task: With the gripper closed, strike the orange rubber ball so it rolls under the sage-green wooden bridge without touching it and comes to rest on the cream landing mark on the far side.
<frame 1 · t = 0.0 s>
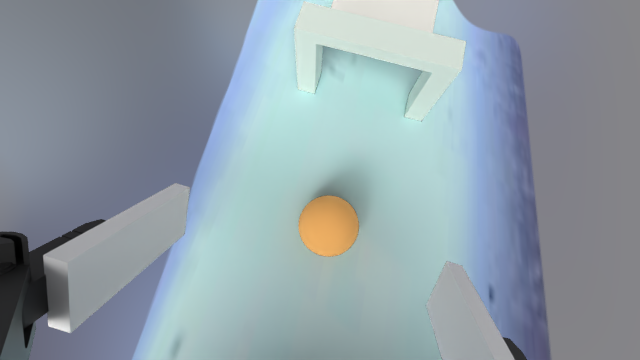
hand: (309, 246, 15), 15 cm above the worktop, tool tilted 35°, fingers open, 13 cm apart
ball: (328, 225, 27), on the worktop
landing mark: (386, 1, 38), on the worktop
bridge: (362, 94, 34), on the worktop
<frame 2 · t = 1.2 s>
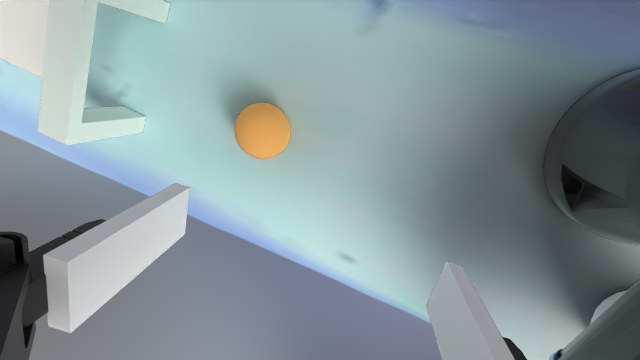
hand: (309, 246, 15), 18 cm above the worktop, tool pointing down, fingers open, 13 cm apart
ball: (263, 131, 30), on the worktop
landing mark: (37, 16, 34), on the worktop
supplement can: (631, 317, 31), on the worktop
bridge: (143, 67, 33), on the worktop
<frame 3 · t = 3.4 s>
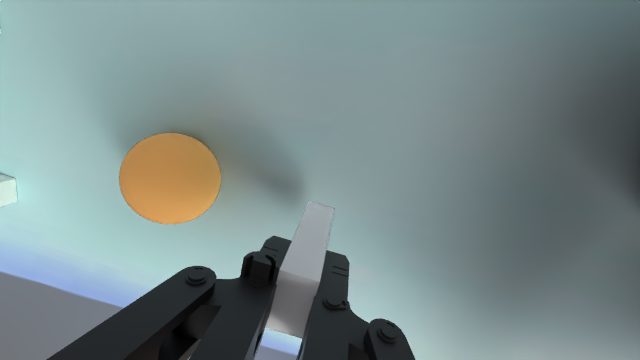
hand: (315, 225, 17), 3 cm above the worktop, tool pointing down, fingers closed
ball: (173, 178, 18), on the worktop
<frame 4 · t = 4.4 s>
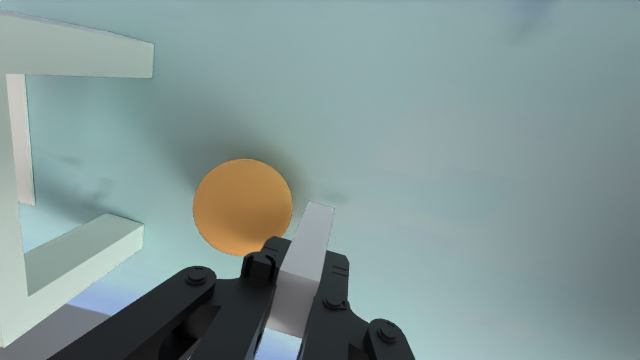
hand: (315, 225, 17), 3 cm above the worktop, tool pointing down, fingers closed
ball: (244, 206, 17), on the worktop
bridge: (127, 151, 20), on the worktop
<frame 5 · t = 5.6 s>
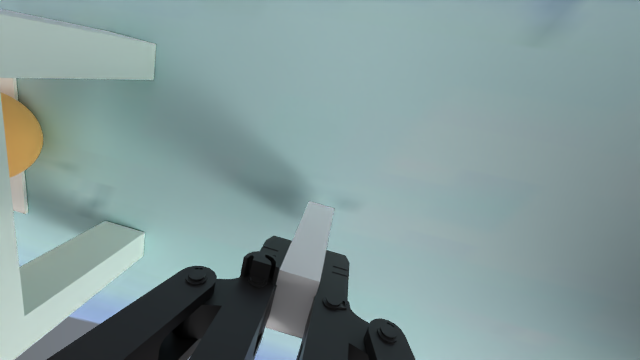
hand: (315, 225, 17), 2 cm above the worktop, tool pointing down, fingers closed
bridge: (127, 156, 19), on the worktop
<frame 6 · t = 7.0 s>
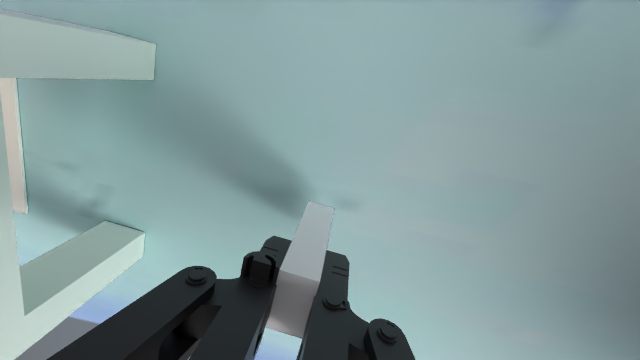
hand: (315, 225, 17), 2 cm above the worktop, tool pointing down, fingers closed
bridge: (127, 156, 19), on the worktop
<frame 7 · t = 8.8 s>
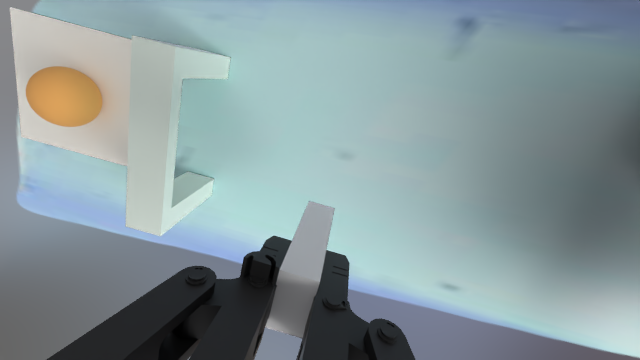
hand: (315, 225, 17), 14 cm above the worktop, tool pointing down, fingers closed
ball: (66, 97, 28), on the worktop
landing mark: (77, 92, 31), on the worktop
bridge: (206, 128, 31), on the worktop
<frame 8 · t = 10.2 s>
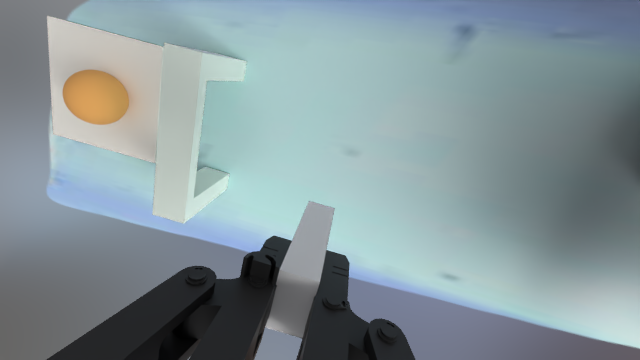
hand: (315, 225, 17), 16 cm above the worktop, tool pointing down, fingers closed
ball: (97, 97, 31), on the worktop
landing mark: (105, 93, 34), on the worktop
bridge: (223, 126, 33), on the worktop
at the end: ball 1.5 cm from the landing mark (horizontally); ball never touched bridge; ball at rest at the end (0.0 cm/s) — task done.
